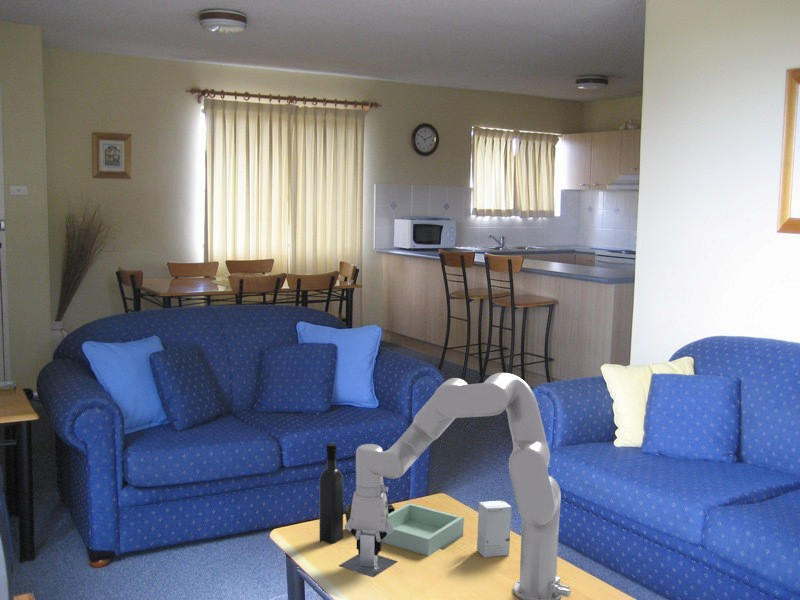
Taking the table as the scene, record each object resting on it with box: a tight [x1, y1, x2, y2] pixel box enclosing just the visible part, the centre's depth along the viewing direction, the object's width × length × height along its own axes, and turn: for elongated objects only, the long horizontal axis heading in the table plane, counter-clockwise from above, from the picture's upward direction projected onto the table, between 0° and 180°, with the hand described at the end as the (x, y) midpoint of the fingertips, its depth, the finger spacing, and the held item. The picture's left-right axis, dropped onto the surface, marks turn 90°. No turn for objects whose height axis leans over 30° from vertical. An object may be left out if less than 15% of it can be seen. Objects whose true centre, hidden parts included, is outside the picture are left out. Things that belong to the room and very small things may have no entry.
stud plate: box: [338, 554, 399, 578], centre depth 230 cm, size 12×12×5 cm
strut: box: [360, 530, 379, 567], centre depth 229 cm, size 4×4×9 cm
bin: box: [381, 502, 465, 557], centre depth 249 cm, size 20×20×6 cm
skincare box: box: [476, 500, 512, 559], centre depth 240 cm, size 8×6×15 cm
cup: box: [344, 503, 352, 523], centre depth 253 cm, size 8×7×8 cm
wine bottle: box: [318, 443, 344, 544], centre depth 245 cm, size 6×6×30 cm
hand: (368, 552), depth 230 cm, fingers closed on strut, 4 cm apart
